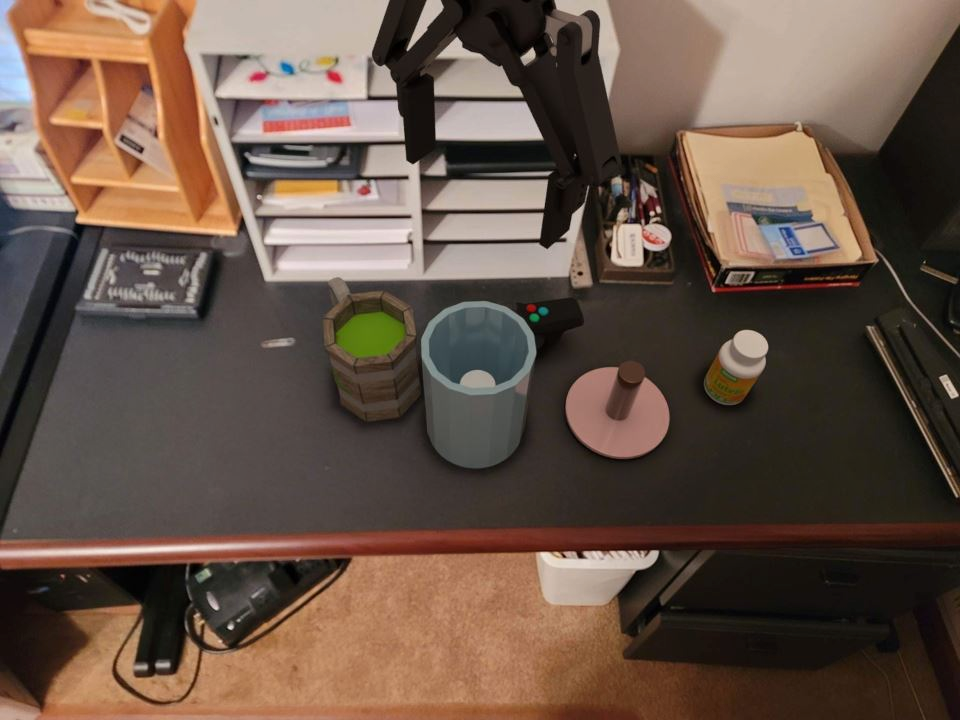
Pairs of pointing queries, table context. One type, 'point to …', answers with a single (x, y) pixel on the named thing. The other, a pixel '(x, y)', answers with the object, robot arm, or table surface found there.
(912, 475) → the table surface
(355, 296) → the mug
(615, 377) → the lid
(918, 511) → the table surface
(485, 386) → the pill bottle
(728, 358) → the supplement bottle
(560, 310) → the controller
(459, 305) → the tin
